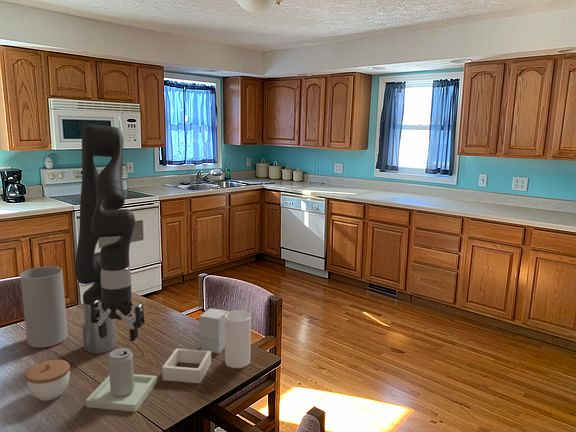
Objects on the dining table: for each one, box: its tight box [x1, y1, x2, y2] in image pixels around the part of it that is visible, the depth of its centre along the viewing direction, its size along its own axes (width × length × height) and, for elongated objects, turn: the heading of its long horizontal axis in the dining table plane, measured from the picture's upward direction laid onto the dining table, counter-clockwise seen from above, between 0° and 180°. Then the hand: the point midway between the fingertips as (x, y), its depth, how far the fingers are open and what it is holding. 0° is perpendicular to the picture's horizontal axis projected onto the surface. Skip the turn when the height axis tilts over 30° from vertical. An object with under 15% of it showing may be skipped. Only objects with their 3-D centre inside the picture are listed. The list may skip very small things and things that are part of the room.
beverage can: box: [107, 347, 135, 397], centre depth 121 cm, size 6×6×12 cm
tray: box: [85, 373, 158, 413], centre depth 122 cm, size 14×14×2 cm
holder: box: [161, 348, 212, 384], centre depth 134 cm, size 12×12×4 cm
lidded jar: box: [25, 359, 71, 402], centre depth 120 cm, size 11×11×9 cm
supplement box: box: [199, 307, 229, 354], centre depth 148 cm, size 7×7×13 cm
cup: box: [224, 309, 252, 369], centre depth 139 cm, size 8×8×16 cm
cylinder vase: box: [19, 266, 69, 349], centre depth 149 cm, size 12×12×25 cm
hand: (118, 338), depth 119 cm, fingers open, 8 cm apart
